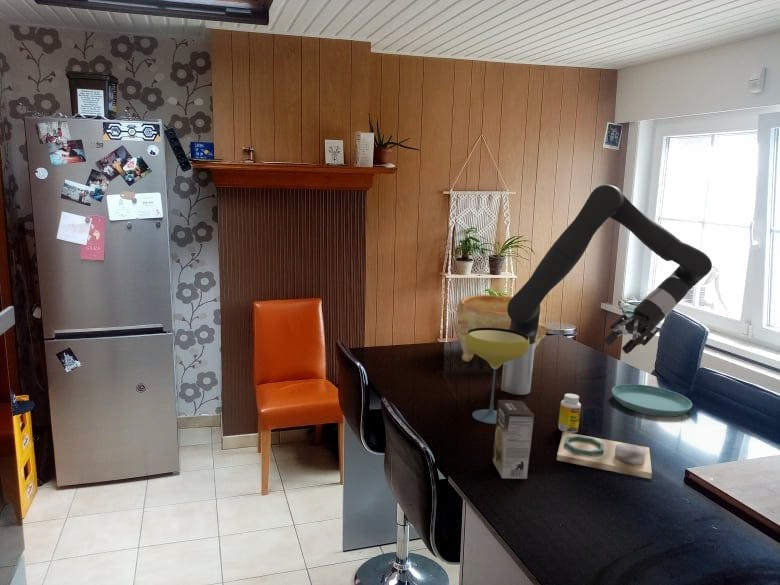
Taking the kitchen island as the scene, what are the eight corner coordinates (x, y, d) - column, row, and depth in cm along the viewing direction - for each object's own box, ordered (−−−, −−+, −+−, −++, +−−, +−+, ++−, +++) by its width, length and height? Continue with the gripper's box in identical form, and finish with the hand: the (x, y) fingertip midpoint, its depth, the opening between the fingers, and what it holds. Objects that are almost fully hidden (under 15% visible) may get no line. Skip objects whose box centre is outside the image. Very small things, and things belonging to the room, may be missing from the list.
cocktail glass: (523, 411, 186) (531, 331, 182) (519, 433, 169) (528, 346, 165) (464, 402, 191) (471, 324, 186) (455, 423, 174) (461, 338, 169)
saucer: (643, 422, 183) (645, 411, 183) (595, 394, 206) (596, 385, 205) (708, 417, 190) (710, 407, 190) (655, 391, 213) (656, 382, 212)
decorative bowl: (433, 347, 253) (436, 293, 249) (508, 345, 264) (513, 293, 260) (467, 373, 221) (472, 311, 217) (551, 369, 232) (557, 310, 228)
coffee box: (491, 461, 151) (497, 399, 148) (516, 461, 151) (522, 399, 149) (501, 479, 142) (507, 413, 139) (528, 479, 143) (534, 413, 140)
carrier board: (556, 460, 153) (558, 445, 153) (562, 436, 168) (563, 423, 168) (651, 478, 146) (653, 463, 145) (648, 452, 161) (650, 438, 160)
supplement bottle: (569, 435, 170) (573, 400, 168) (553, 428, 174) (557, 394, 172) (582, 431, 173) (586, 397, 171) (566, 424, 177) (570, 391, 175)
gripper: (632, 293, 179) (593, 332, 178) (665, 303, 166) (623, 345, 165) (645, 311, 181) (607, 349, 180) (679, 322, 168) (637, 363, 167)
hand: (615, 347), depth 173 cm, fingers open, 8 cm apart
